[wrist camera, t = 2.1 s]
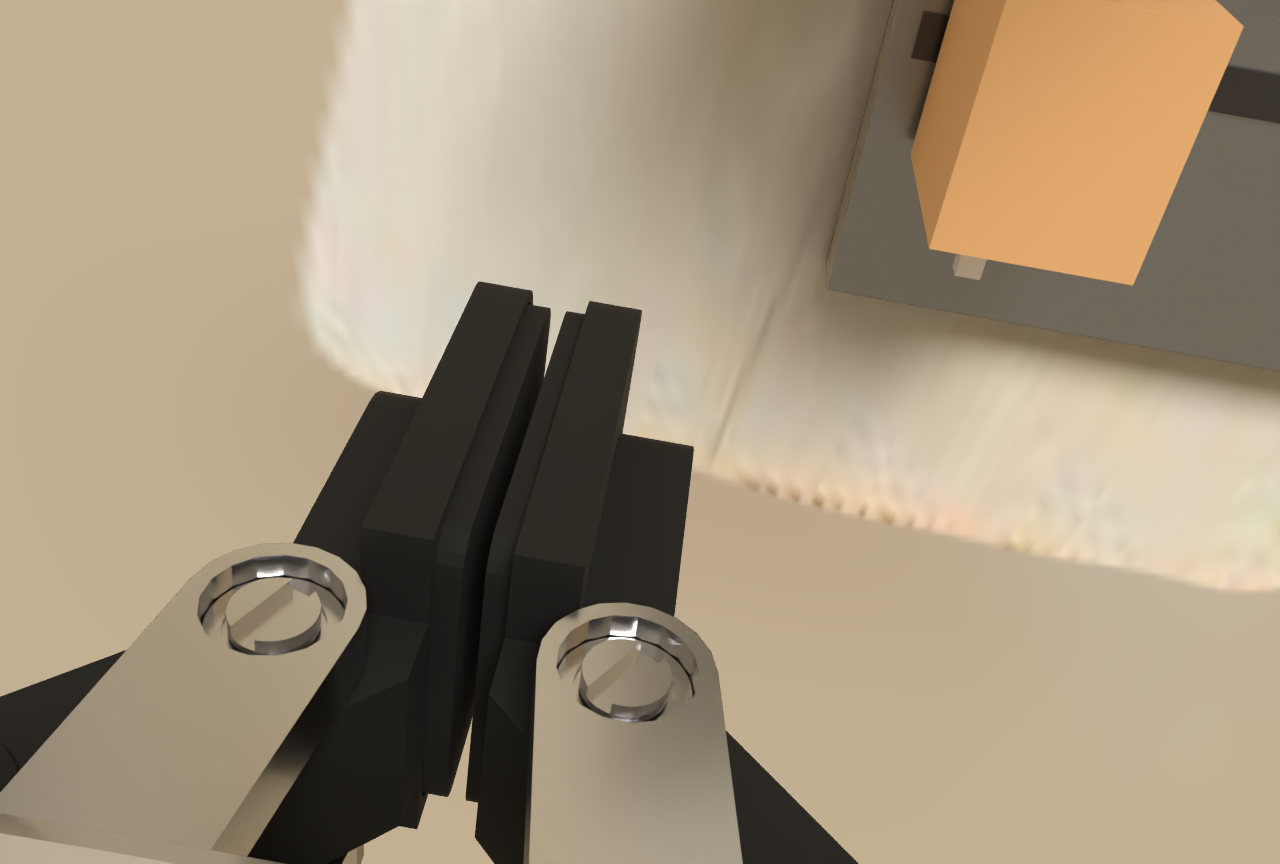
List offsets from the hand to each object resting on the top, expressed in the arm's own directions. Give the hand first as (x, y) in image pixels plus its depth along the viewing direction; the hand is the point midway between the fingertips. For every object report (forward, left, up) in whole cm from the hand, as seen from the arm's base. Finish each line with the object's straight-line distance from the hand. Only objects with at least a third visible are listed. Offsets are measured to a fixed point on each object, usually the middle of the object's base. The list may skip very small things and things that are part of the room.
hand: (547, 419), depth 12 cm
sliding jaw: (-8, +1, -17) cm, 18 cm away
